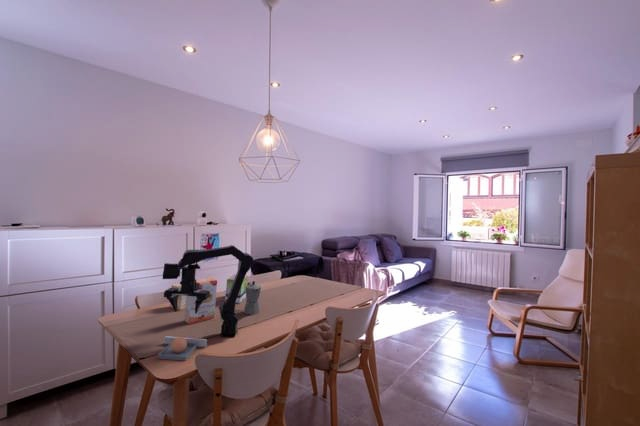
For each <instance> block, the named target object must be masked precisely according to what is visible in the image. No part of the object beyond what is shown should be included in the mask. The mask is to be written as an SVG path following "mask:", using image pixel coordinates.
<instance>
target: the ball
mask: <svg viewBox="0 0 640 426" xmlns="http://www.w3.org/2000/svg"><path fill="white" fill-rule="evenodd" d="M176 337H177V338H175V339H174V340H173V341H172V343H171V349H172V351H174V352H176V353H179V352H182V351H183V350H184V349H185V348H186V346H187V341H186V339H185V338H186V337H183V336H176Z"/></svg>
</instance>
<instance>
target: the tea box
mask: <svg viewBox="0 0 640 426" xmlns="http://www.w3.org/2000/svg"><path fill="white" fill-rule="evenodd" d="M236 274H237V273H234V274H232V275H231V276H229V277H228V278H227V279H226V286H225V287H226V288H225V297H224V298H225V299H224V301H225V300H226V299H227V298H228V295H229V292H230V290H231V287H232V284H233V282H234V279H235V276H236ZM248 281H249V275H248V274H246V275H245V278H244V280H243V283H242V286H241V288H240V291H239V294H238V296H237V299H236V302H235V304H241V303H242V302H243V300H245V298H246V288H245V287H246V285H247V284H248Z"/></svg>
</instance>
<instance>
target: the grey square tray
mask: <svg viewBox="0 0 640 426" xmlns="http://www.w3.org/2000/svg"><path fill="white" fill-rule="evenodd" d="M171 343H172V342H171ZM171 343H170V344H167V346H166V347H164V349H162V350H161V351H160V352H159V353H158V354H157V359H160V360H173V361H174V360H175V361H187V360H188V358H189V357H190V356H191V355H192V354H193V352H195V351H196V349H197V348H198V346H197V344H195V343H187V346H186V348H185V349H184V350H183V351H182V352H179V353H176V352H174V351H172V349H171Z"/></svg>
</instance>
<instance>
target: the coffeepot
mask: <svg viewBox="0 0 640 426" xmlns="http://www.w3.org/2000/svg"><path fill="white" fill-rule="evenodd" d="M255 283H256V281H252V282H248V284H247V285H246V287H245V288H246V297H245V298H246V301H245V304H244V305H245V306H244V309H243V313H244V314H245V313H246V314H245V315H248V314H255V315H258V314H260V305H259V298H260V294H261V289H262V285H259V284H255ZM257 313H258V314H257Z"/></svg>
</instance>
